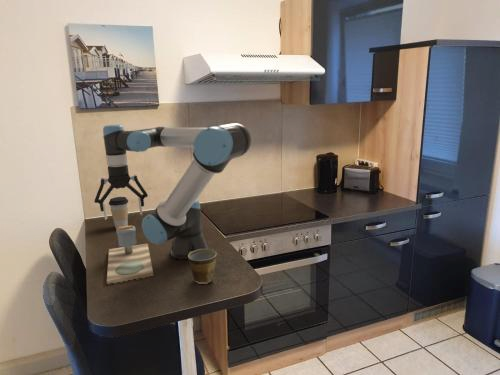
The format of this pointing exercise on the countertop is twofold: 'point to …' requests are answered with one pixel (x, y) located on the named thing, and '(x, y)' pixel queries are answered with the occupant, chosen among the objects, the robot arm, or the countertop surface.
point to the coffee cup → (119, 211)
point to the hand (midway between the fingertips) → (123, 216)
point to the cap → (126, 236)
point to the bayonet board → (129, 263)
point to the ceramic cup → (202, 264)
